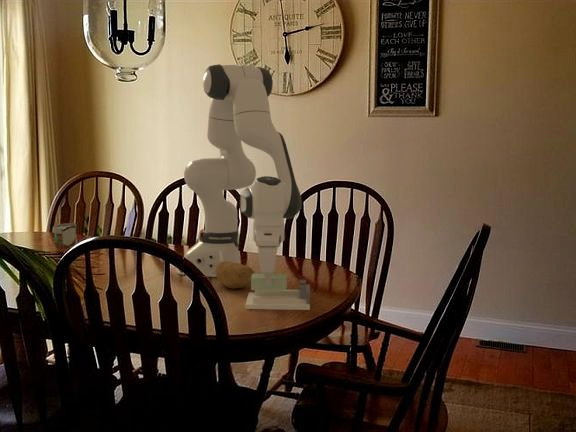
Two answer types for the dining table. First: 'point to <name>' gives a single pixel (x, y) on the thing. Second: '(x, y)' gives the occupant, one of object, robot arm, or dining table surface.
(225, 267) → the potato
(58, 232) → the food container
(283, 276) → the green block
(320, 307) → the dining table surface
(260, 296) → the beige shallow tray
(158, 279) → the dining table surface
